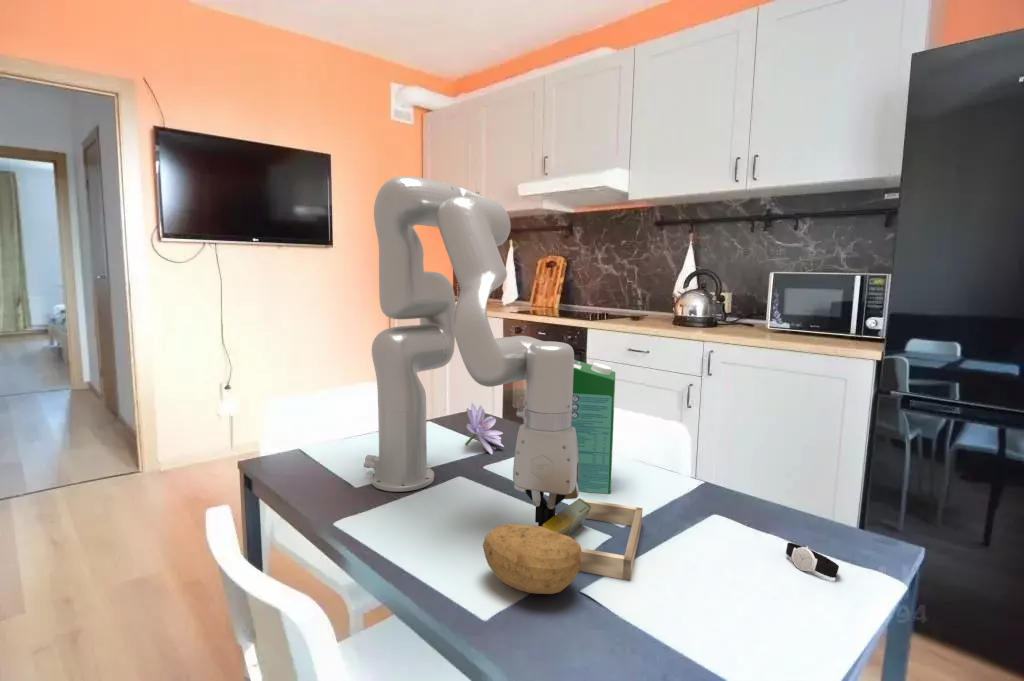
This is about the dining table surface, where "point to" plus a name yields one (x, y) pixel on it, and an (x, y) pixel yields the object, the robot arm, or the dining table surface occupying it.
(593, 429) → the milk carton
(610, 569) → the u-shaped wooden frame
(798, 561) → the watch
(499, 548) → the potato
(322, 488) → the dining table surface
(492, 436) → the water lily
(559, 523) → the medication box
